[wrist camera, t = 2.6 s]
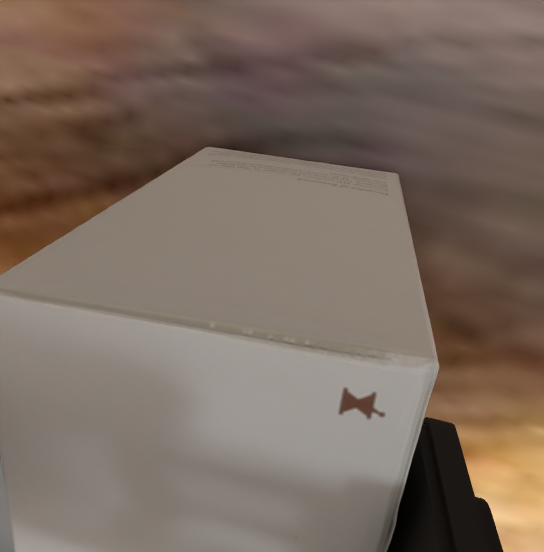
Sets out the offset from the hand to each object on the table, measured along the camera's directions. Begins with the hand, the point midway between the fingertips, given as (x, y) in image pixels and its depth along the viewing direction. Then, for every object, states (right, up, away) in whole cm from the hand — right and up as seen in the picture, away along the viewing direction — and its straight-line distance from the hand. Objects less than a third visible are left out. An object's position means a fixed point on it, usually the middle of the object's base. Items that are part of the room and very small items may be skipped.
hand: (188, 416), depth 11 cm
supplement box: (+2, +4, +9) cm, 11 cm away
